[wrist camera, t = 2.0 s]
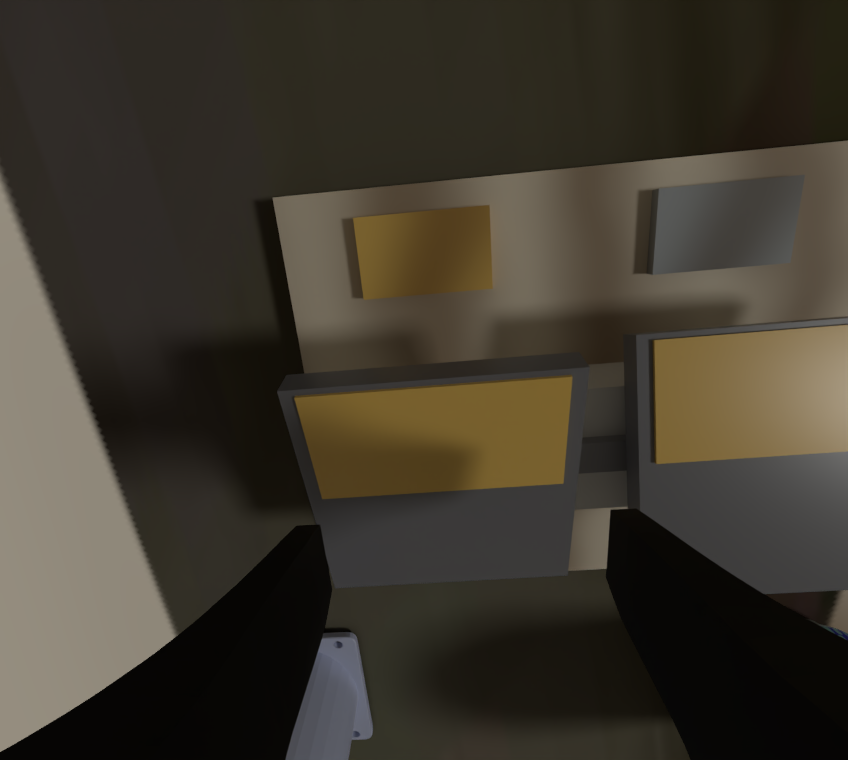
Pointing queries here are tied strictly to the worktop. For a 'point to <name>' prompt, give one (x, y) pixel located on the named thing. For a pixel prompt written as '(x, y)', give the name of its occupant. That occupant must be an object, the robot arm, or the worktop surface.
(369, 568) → the switch
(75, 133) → the worktop surface
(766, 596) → the robot arm
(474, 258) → the base
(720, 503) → the switch
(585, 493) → the switch housing
